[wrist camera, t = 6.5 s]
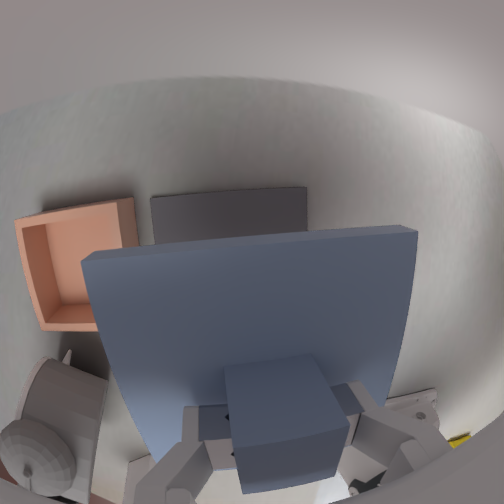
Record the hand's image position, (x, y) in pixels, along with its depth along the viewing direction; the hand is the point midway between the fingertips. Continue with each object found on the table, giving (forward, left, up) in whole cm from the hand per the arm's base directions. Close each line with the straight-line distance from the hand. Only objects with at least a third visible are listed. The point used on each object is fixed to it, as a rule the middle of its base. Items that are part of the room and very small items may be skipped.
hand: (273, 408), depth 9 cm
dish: (+14, -1, -19) cm, 23 cm away
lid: (0, 0, -2) cm, 2 cm away
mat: (0, 0, -19) cm, 19 cm away
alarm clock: (+20, +15, -19) cm, 31 cm away
